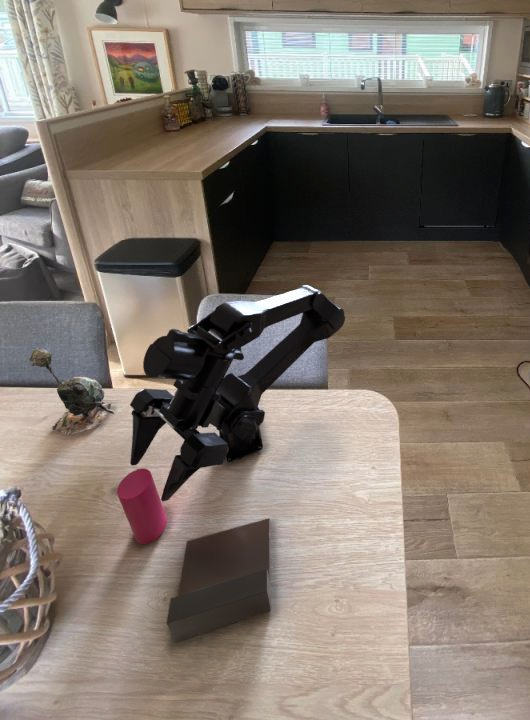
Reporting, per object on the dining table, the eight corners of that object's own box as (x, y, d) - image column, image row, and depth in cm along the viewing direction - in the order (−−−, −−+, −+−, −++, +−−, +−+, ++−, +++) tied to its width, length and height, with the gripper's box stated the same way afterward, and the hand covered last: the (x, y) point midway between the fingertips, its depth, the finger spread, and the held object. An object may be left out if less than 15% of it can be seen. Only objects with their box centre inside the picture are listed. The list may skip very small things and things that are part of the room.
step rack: (189, 548, 59) (183, 528, 57) (270, 525, 62) (267, 505, 60) (174, 643, 50) (166, 623, 48) (271, 610, 53) (267, 591, 51)
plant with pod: (91, 445, 74) (58, 365, 66) (46, 431, 77) (9, 352, 69) (127, 409, 81) (101, 333, 73) (85, 397, 84) (55, 323, 76)
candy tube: (167, 507, 64) (152, 463, 60) (166, 535, 61) (150, 491, 56) (136, 520, 62) (119, 475, 58) (133, 550, 59) (114, 505, 54)
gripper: (271, 409, 65) (224, 509, 61) (206, 361, 75) (161, 444, 71) (223, 408, 56) (163, 526, 52) (156, 354, 66) (101, 450, 62)
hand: (148, 481), depth 59 cm, fingers open, 9 cm apart
